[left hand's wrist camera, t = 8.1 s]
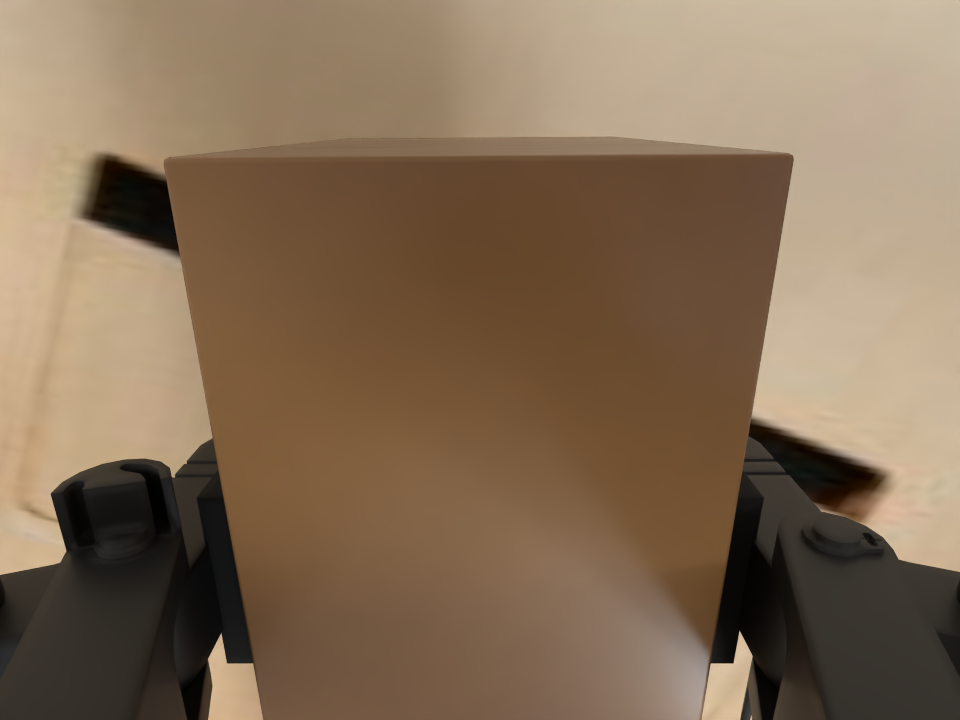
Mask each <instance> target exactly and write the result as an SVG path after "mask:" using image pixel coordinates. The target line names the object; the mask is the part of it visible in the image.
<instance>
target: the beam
mask: <svg viewBox="0 0 960 720" xmlns="http://www.w3.org/2000/svg"><path fill="white" fill-rule="evenodd" d="M793 160H794V159H793V155H791V154H789V153H780V152H769V151H759V150H748V149H737V148H727V147H716V146H705V145H695V144H684V143H673V142H663V141H652V140H642V139H631V138H620V137H516V138H372V139H340V140H331V141H321V142H312V143H302V144H293V145H283V146H273V147H264V148H254V149H245V150H235V151H226V152H216V153H207V154H197V155H188V156H178V157H169V158H167V159H165V160H164V168H165V174H166V179H167V185H168V190H169V196H170V201H171V207H172V213H173V218H174V224H175V229H176V235H177V241H178V246H179V252H180V257H181V263H182V268H183V274H184V280H185V285H186V291H187V296H188V302H189V307H190V313H191V319H192V324H193V330H194V335H195V341H196V346H197V352H198V358H199V363H200V369H201V374H202V380H203V386H204V391H205V397H206V402H207V408H208V413H209V419H210V425H211V430H212V436H213V441H214V447H215V452H216V458H217V464H218V469H219V475H220V480H221V486H222V491H223V497H224V503H225V508H226V514H227V519H228V525H229V530H230V536H231V542H232V547H233V553H234V558H235V564H236V570H237V575H238V581H239V586H240V592H241V597H242V603H243V609H244V614H245V620H246V625H247V631H248V636H249V642H250V648H251V653H252V659H253V664H254V670H255V675H256V681H257V687H258V692H259V698H260V703H261V709H262V715H263V720H701V718H702V712H703V706H704V700H705V694H706V688H707V682H708V676H709V670H710V664H711V658H712V652H713V646H714V640H715V633H716V627H717V621H718V615H719V609H720V603H721V597H722V591H723V585H724V579H725V573H726V567H727V561H728V555H729V549H730V543H731V536H732V530H733V524H734V518H735V512H736V506H737V500H738V494H739V488H740V482H741V476H742V470H743V464H744V458H745V452H746V446H747V439H748V433H749V427H750V421H751V415H752V409H753V403H754V397H755V391H756V385H757V379H758V373H759V367H760V361H761V355H762V348H763V342H764V336H765V330H766V324H767V318H768V312H769V306H770V300H771V294H772V288H773V282H774V276H775V270H776V264H777V258H778V251H779V245H780V239H781V233H782V227H783V221H784V215H785V209H786V203H787V197H788V191H789V185H790V179H791V173H792V167H793Z"/></svg>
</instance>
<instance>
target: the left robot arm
mask: <svg viewBox="0 0 960 720" xmlns="http://www.w3.org/2000/svg"><path fill="white" fill-rule="evenodd" d="M51 497H52V500H53V504H54V507H55V511H56V515H57V518H58V522H59V525H60V529H61V533H62V536H63V540H64V543H65V547H66V550H67V551H66V553H65V555H64V557H63V559H62V561H61V563H58V564H54V565H50V566H45V567H40V568H34V569H29V570H24V571H19V572H14V573H9V574H3V575H0V720H208V715H209V708H210V700H211V692H212V680H211V673H210V668H209V663H208V658H209V656H210V654H211V652H212V650H213V648H214V646H215V644H216V642H217V640H218V638H219V636H220V634H221V633H222V638H223V643H224V649H225V654H226V660H227V663H253V659H252V653H251V648H250V642H249V636H248V631H247V625H246V620H245V614H244V609H243V603H242V597H241V592H240V586H239V581H238V575H237V570H236V564H235V558H234V553H233V547H232V542H231V536H230V530H229V525H228V519H227V514H226V508H225V503H224V497H223V491H222V486H221V480H220V475H219V469H218V464H217V458H216V452H215V447H214V441H213V438H212V439H211V440H209V441H207V442H206V443H204V444H202V445H201V446H200V447H199V448H198V449H197V450H196V451H195V453H194V454H193V455H192V456H191V457H190V458H189V459H188V460H187V464H184V465H183V466H182V467H181V468H180V469H179V471H178V472H177V473H176V474H175V478H172V476H171V471H170V468H169V467H168V466H166V465H165V464H163V463H162V462H160V461H155V460H149V459H127V460H120V461H115V462H111V463H106V464H101V465H99V466H96V467H93V468H90V469H87V470H85V471H82V472H80V473H78V474H76V475H74V476H73V477H71V478H69V479H67V480H65V481H64V482H62V483H61V484H60V485H59V486H58V487H57V488H56V489H55V490H54V491H53V492H52V493H51ZM739 630H740V632H741V634H742V636H743V638H744V640H745V642H746V644H747V645H748V647H749V649H750V651H751V653H752V655H753V658H752V663H751V668H750V673H749V678H748V683H747V688H746V693H745V698H744V703H743V708H742V713H741V720H750V717H751V715H752V720H960V572H956V571H951V570H946V569H941V568H936V567H930V566H925V565H920V564H915V563H910V562H906V561H902V560H898V558H897V556H896V554H895V552H894V550H893V549H892V548H891V547H890V545H889V544H888V543H887V542H886V541H885V539H884V538H883V537H881V536H880V535H878V534H877V533H875V532H874V531H872V530H871V529H869V528H868V527H867V526H865V525H862V524H860V523H858V522H855V521H853V520H850V519H848V518H846V517H842V516H838V515H834V514H829V513H825V512H821V511H820V510H819V509H818V508H817V506H816V505H815V504H814V503H813V502H812V501H811V500H810V499H809V497H808V496H807V495H806V494H805V493H804V492H803V491H802V490H801V488H800V487H799V486H798V485H797V484H796V483H795V482H794V481H793V479H792V478H791V477H790V476H789V475H786V472H785V471H784V469H783V468H782V467H781V466H780V465H779V464H778V463H777V462H774V458H773V457H772V456H771V455H770V454H769V453H768V451H767V450H766V449H765V448H764V447H763V446H762V445H761V444H760V443H759V442H757V441H756V440H754V439H752V438H750V437H749V436H748V439H747V446H746V452H745V458H744V464H743V470H742V476H741V482H740V488H739V494H738V500H737V506H736V512H735V518H734V524H733V530H732V536H731V543H730V549H729V555H728V561H727V567H726V573H725V579H724V585H723V591H722V597H721V603H720V609H719V615H718V621H717V627H716V633H715V640H714V646H713V652H712V658H711V663H734V657H735V652H736V646H737V641H738V636H739Z"/></svg>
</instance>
